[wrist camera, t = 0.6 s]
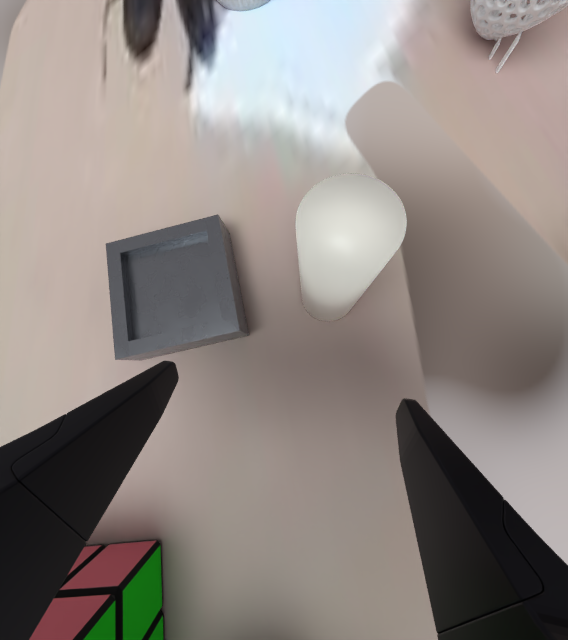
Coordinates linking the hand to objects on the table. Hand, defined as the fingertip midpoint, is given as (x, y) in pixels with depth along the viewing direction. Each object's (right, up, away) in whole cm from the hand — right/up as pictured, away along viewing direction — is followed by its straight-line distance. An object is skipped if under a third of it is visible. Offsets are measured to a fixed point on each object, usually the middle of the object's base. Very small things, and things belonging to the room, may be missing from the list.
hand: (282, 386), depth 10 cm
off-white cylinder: (+4, +5, +14) cm, 15 cm away
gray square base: (-10, +5, +15) cm, 19 cm away
